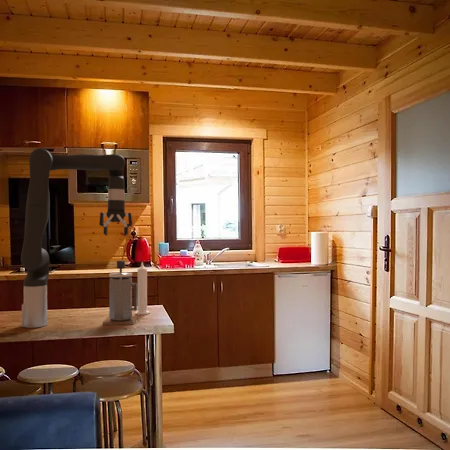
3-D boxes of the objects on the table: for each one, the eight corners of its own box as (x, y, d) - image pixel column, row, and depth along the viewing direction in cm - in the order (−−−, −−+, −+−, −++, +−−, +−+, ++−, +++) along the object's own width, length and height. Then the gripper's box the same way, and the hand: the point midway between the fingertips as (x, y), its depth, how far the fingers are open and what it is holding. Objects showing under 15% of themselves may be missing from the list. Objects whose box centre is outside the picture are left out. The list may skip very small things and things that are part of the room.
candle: (135, 315, 208) (135, 262, 208) (134, 312, 215) (134, 261, 215) (150, 314, 210) (150, 262, 210) (148, 311, 216) (148, 261, 217)
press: (102, 325, 187) (102, 280, 187) (109, 318, 200) (109, 276, 200) (134, 324, 188) (134, 280, 188) (138, 318, 201) (138, 276, 201)
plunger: (107, 316, 189) (106, 261, 189) (111, 311, 199) (111, 260, 199) (130, 316, 189) (130, 261, 189) (133, 311, 199) (133, 260, 199)
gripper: (98, 198, 192) (97, 235, 192) (130, 199, 193) (130, 235, 193) (102, 200, 200) (101, 235, 200) (133, 200, 200) (133, 235, 200)
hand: (115, 235), depth 196 cm, fingers open, 8 cm apart
